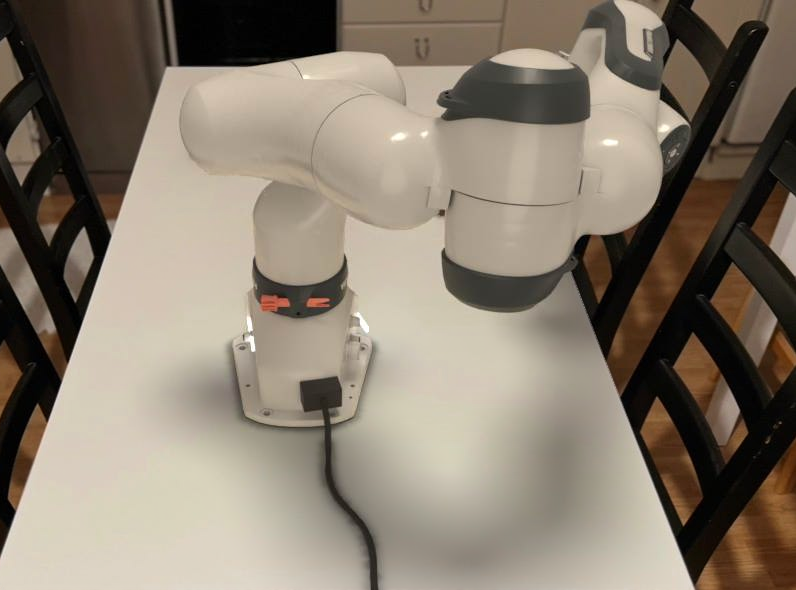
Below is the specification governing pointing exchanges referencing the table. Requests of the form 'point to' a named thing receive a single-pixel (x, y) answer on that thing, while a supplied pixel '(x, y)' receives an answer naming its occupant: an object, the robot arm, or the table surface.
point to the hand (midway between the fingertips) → (527, 63)
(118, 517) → the table surface
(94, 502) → the table surface
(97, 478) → the table surface
